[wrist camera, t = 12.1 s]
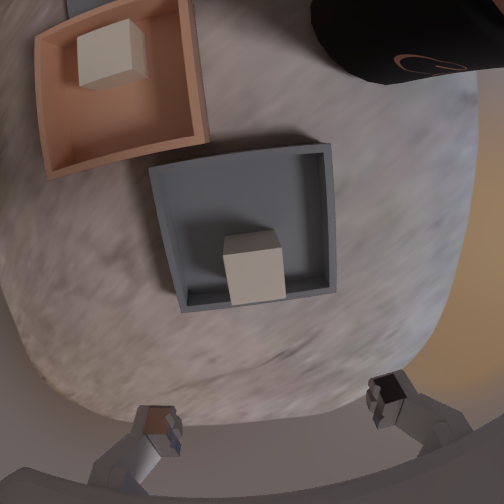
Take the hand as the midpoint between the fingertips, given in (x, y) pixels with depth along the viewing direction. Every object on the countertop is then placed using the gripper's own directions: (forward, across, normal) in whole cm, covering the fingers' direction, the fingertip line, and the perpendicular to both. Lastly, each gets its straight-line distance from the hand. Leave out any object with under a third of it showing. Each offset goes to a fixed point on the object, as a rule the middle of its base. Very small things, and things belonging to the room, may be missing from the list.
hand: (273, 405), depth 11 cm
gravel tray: (+16, 0, -3) cm, 16 cm away
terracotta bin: (+15, +8, -16) cm, 24 cm away
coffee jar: (+16, -12, -19) cm, 27 cm away
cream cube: (+15, +8, -18) cm, 25 cm away
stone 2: (+15, 0, 0) cm, 15 cm away
